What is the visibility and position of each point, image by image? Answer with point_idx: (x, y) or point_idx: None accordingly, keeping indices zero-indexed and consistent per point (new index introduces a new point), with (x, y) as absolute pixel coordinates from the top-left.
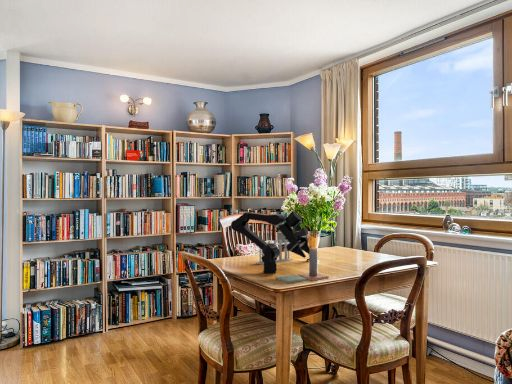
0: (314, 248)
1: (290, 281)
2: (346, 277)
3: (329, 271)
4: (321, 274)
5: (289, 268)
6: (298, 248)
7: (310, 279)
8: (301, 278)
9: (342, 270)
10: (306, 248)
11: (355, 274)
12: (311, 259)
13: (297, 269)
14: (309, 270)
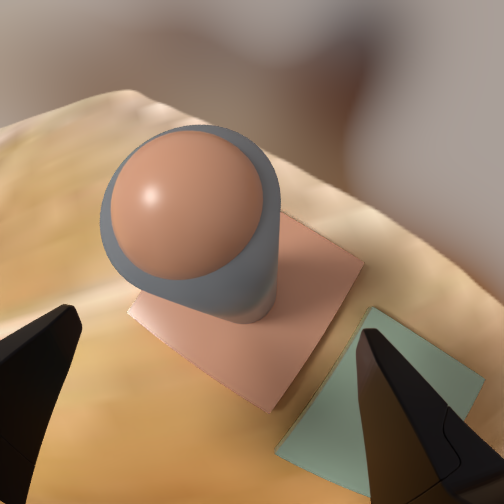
0: (204, 140)
1: (475, 373)
2: (168, 109)
3: (41, 238)
4: None
5: (60, 493)
6: (492, 480)
7: (354, 279)
8: (392, 339)
9: (17, 183)
10: (10, 405)
11: (91, 102)
12: (277, 265)
13: (57, 448)
14: (261, 314)
